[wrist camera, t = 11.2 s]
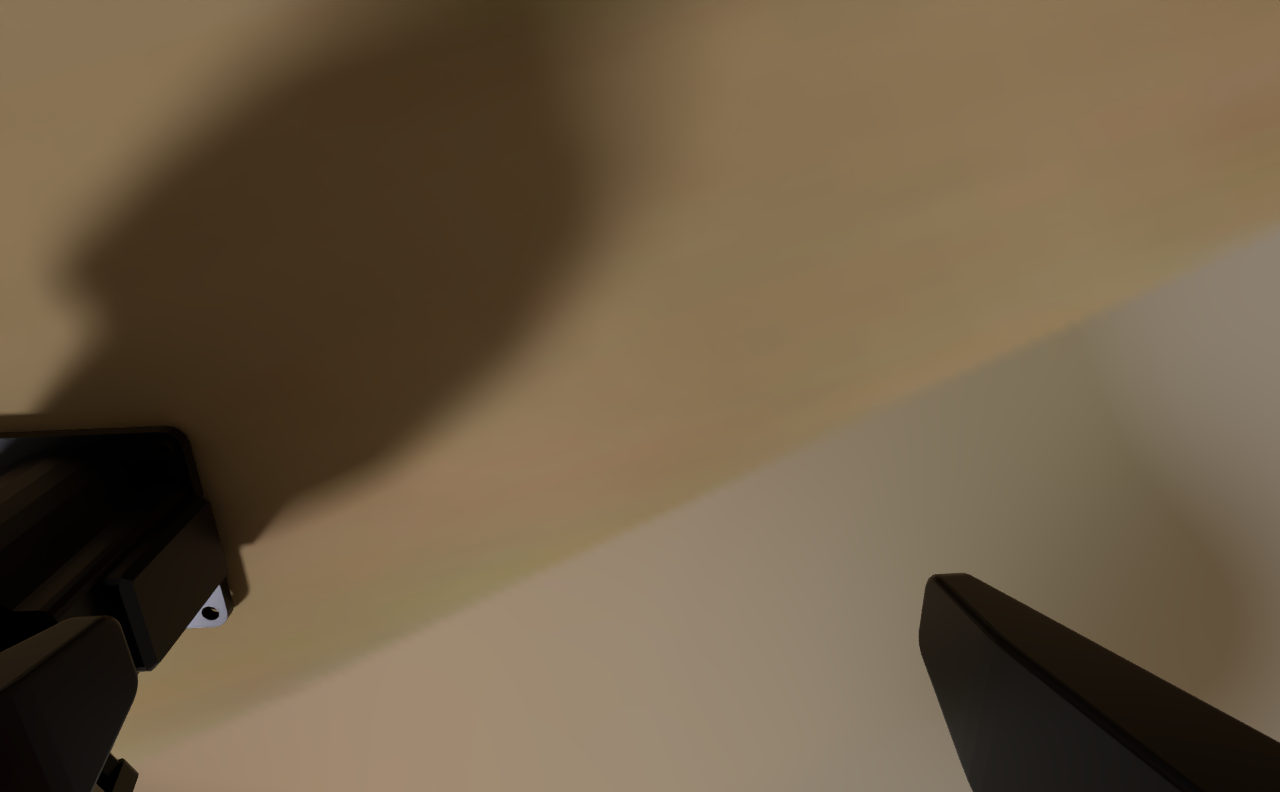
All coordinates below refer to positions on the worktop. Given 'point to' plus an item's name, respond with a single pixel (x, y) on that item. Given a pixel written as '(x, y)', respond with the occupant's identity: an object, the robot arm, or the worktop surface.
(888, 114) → the worktop surface
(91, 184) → the worktop surface
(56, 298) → the worktop surface
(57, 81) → the worktop surface
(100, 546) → the robot arm
